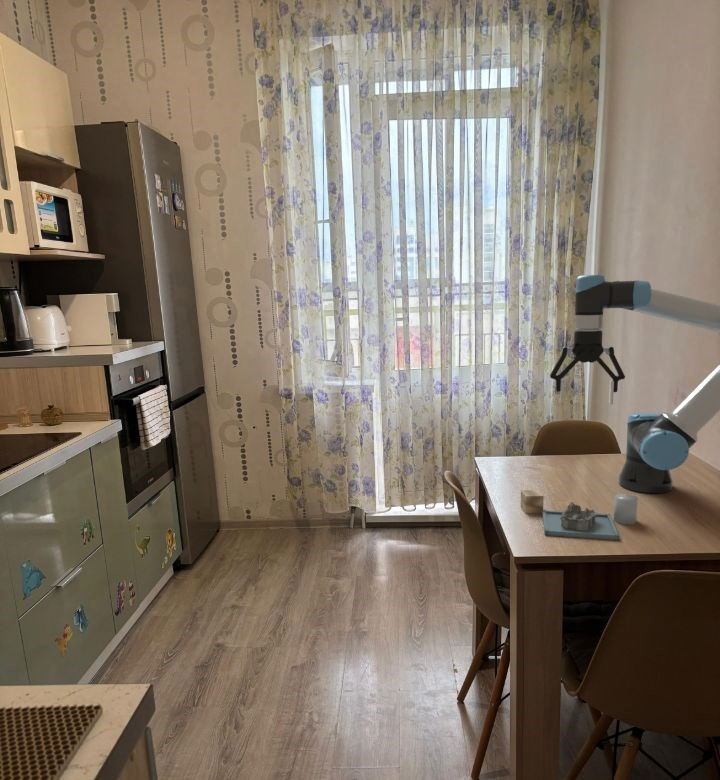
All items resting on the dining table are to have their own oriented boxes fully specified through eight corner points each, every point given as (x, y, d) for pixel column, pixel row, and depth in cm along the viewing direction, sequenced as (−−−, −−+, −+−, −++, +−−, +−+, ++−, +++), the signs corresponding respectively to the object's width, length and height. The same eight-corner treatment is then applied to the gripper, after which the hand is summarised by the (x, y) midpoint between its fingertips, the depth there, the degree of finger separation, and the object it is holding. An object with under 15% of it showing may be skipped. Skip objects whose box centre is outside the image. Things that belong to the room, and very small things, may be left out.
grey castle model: (571, 514, 165) (572, 500, 164) (599, 521, 160) (600, 506, 159) (556, 527, 156) (557, 512, 156) (585, 533, 152) (586, 518, 151)
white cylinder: (634, 517, 163) (635, 494, 162) (638, 525, 158) (639, 501, 157) (612, 516, 164) (613, 493, 163) (615, 523, 159) (616, 500, 158)
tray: (609, 518, 163) (610, 514, 163) (618, 540, 149) (619, 535, 149) (542, 514, 167) (542, 510, 167) (544, 535, 153) (544, 530, 153)
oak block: (537, 506, 173) (538, 489, 172) (543, 512, 168) (543, 495, 168) (520, 507, 173) (520, 490, 172) (525, 513, 168) (525, 496, 168)
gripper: (633, 328, 172) (629, 401, 175) (542, 329, 178) (540, 399, 181) (638, 330, 165) (634, 406, 168) (543, 331, 171) (541, 404, 174)
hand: (585, 402), depth 175 cm, fingers open, 13 cm apart
